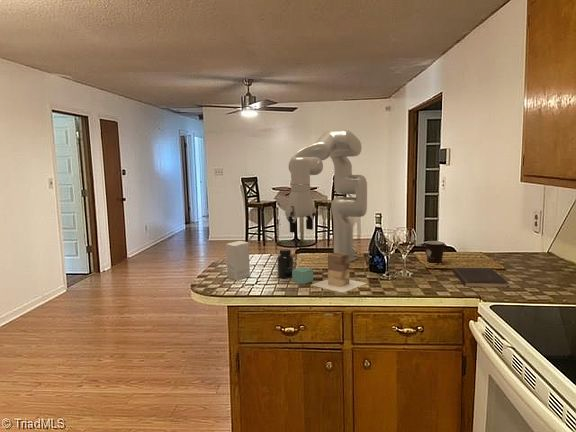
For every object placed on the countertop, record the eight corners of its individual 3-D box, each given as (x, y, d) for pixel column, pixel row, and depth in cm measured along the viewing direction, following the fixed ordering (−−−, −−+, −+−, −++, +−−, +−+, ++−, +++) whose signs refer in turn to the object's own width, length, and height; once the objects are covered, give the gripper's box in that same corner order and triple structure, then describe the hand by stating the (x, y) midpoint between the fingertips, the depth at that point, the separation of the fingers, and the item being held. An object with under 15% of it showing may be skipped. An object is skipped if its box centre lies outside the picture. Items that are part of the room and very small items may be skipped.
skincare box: (241, 274, 197) (240, 240, 195) (251, 276, 193) (249, 242, 191) (226, 278, 191) (225, 243, 189) (236, 280, 187) (234, 245, 185)
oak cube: (337, 281, 178) (337, 266, 178) (349, 283, 174) (349, 269, 174) (328, 284, 174) (327, 269, 174) (340, 287, 170) (339, 272, 169)
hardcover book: (491, 273, 190) (491, 268, 190) (508, 288, 167) (508, 282, 167) (452, 272, 193) (452, 267, 192) (464, 287, 170) (464, 282, 170)
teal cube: (302, 280, 184) (302, 267, 183) (313, 283, 180) (312, 269, 179) (292, 284, 180) (292, 269, 179) (303, 286, 176) (302, 272, 175)
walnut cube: (337, 266, 178) (337, 252, 177) (349, 269, 174) (349, 254, 173) (327, 269, 174) (327, 254, 173) (339, 271, 169) (339, 256, 169)
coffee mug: (446, 265, 204) (447, 244, 202) (428, 265, 204) (428, 244, 202) (438, 259, 215) (438, 239, 214) (420, 259, 215) (421, 239, 214)
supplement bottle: (291, 279, 187) (291, 251, 186) (276, 278, 189) (275, 251, 187) (294, 274, 194) (294, 248, 192) (279, 274, 195) (279, 248, 194)
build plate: (335, 278, 186) (335, 276, 185) (367, 285, 174) (367, 283, 174) (310, 287, 174) (310, 284, 174) (342, 295, 163) (342, 292, 163)
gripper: (308, 187, 184) (309, 227, 186) (278, 189, 172) (279, 232, 174) (321, 187, 178) (322, 229, 181) (292, 190, 166) (293, 234, 168)
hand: (301, 230), depth 177 cm, fingers open, 9 cm apart
